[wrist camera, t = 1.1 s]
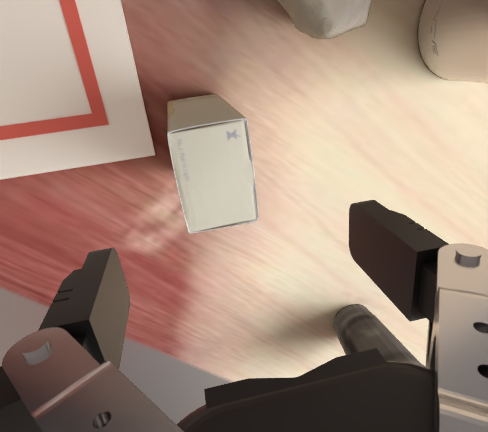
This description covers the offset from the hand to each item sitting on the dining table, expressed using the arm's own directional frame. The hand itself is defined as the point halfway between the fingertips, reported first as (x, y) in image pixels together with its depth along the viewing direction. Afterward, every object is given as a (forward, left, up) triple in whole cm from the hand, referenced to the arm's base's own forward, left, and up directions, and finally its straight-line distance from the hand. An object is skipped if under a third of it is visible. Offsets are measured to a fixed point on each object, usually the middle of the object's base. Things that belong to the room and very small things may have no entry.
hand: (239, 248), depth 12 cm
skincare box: (0, 0, -20) cm, 20 cm away
